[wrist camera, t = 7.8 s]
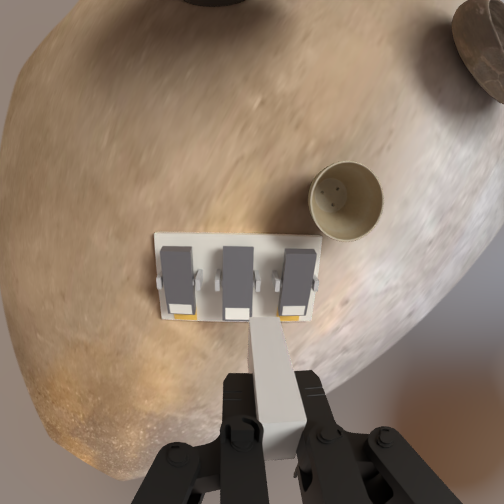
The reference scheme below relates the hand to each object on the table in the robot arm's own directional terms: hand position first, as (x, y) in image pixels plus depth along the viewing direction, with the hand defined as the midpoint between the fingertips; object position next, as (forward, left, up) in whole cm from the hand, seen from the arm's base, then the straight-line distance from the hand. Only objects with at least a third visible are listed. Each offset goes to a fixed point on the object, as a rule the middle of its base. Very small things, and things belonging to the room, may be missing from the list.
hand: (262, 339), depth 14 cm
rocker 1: (+7, -9, -22) cm, 25 cm away
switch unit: (+8, -1, -26) cm, 28 cm away
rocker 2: (+7, -1, -22) cm, 23 cm away
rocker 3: (+7, +7, -22) cm, 24 cm away
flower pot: (-5, +12, -27) cm, 30 cm away
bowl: (-39, +46, -27) cm, 66 cm away
